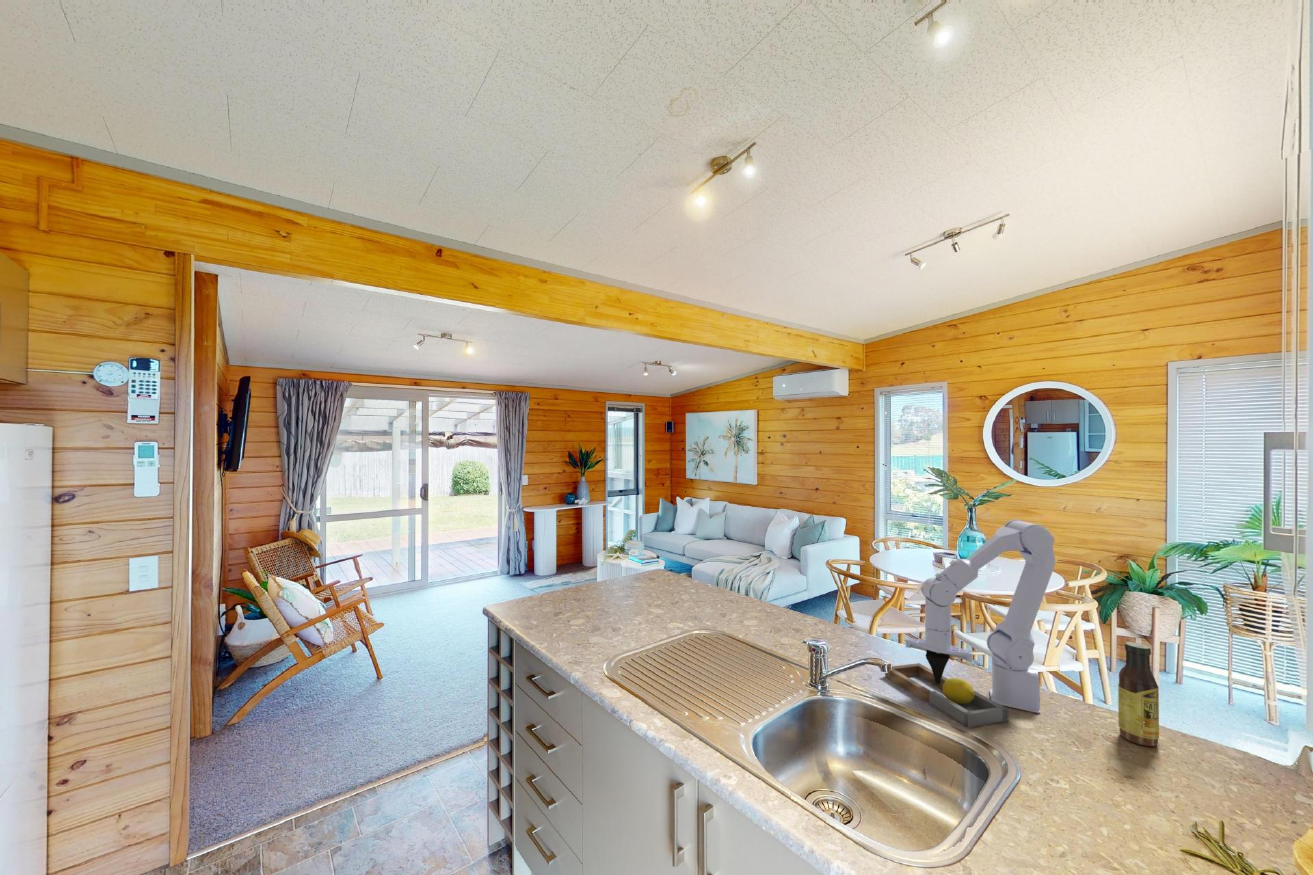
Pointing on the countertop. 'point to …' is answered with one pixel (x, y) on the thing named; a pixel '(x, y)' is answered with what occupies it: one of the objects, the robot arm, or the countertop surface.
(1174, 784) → the countertop surface
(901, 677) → the slot rails
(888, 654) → the countertop surface
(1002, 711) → the tray
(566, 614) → the countertop surface
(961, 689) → the lemon
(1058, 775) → the countertop surface
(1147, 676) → the sauce bottle
